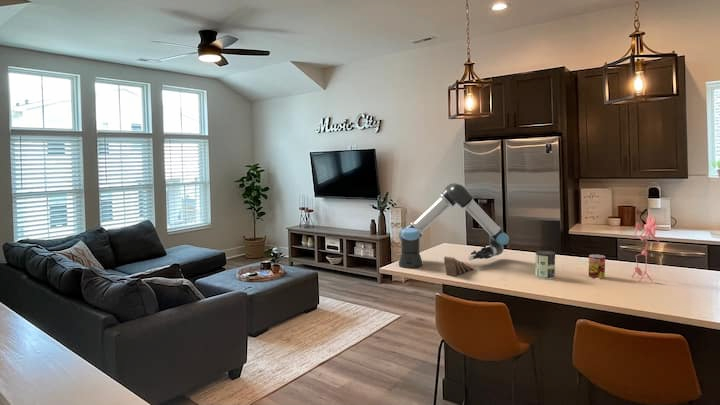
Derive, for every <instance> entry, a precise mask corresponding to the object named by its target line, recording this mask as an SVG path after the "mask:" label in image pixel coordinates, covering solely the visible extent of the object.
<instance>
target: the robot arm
mask: <svg viewBox="0 0 720 405" xmlns="http://www.w3.org/2000/svg"><path fill="white" fill-rule="evenodd" d="M439 195H440V196H439V199H437V200H436V201H435V202H434V203H433V204H432V205H431V206H430V207H429V208H428V209H427V210H426V211H424V212H423V213H422V214H421V215H420V216H419V217H418V218H417V219H416V220H415V221H414V222H412V221H411V222H410V223H409V224H407V225H406V226H405V227H403V228H401V230H400V232H399V235H398V237H399V241H400V243H401V244H400V246H401V248H400V252H401V253H400V257H399V259H398V260H399V261H398V266H399V267H401V268H405V269H416V268H421V267H423V259H422V257H421V254H420V247H421V246H420V238H421V237H423V234H424V231H425V230H427V228H429V227H430V226H431V225H432V224H433V223H434V222H436V220H437V219H439V217H441V215H442V214H444V213H445V212H446V211H447V210H448V209H449V208H453V207H454V206H455V205H456V204H457V205H458V206H460V208H461V209H464V210H466V211H467V213H468V214H469V215H470V216H471V217H472V218H473V219H474V220H475V221H476V222H477V223H478V224H479V225H480V227H481V228H483V230H484V231H486V233H488V235H489V238H488V239H489V245H486V246H483V247H481V249H480V250H477V251H476V250H473V251H472V252H470V255H469V254H468V261H472V260H478V259H481V260H482V259H486V260H487V259H491V258H493V257H496V256H500V255H501V254H502V253H503V252H504V249H505V248H504V246H505V245H507V244H509V241H510V236H509V235H508V234H507V233H506V232H504V231H503V230H502V227H501V226H499V225H497V223H495V221H494V220H493V219H492V218H491V217H490V216H489V215H488V214H487V213H486V212H485V210H483V208H481V206H480V205H478V203H477V202H476V201H475V200H474V197H473V196H472V194H471V193H470V192H469V190H467V188H466V187H465V186H464V185H462V184H459V183H456V182H455V183H450V184H448V185H447V186H446V187H445V189H444V190H443V191H442V192H441V193H440V194H439Z"/></svg>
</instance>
